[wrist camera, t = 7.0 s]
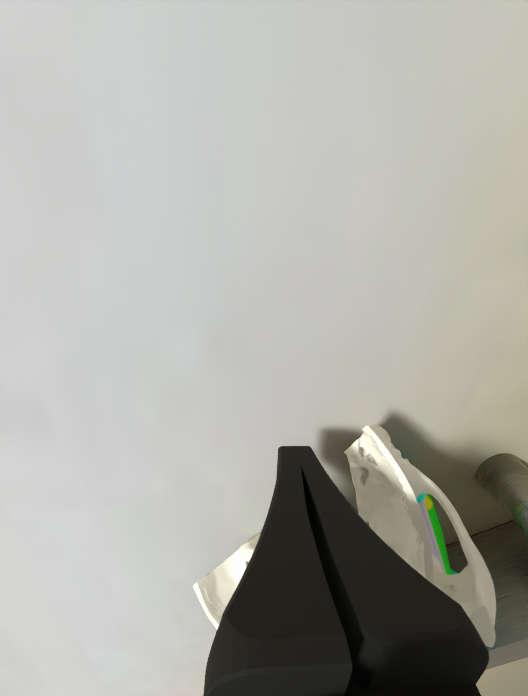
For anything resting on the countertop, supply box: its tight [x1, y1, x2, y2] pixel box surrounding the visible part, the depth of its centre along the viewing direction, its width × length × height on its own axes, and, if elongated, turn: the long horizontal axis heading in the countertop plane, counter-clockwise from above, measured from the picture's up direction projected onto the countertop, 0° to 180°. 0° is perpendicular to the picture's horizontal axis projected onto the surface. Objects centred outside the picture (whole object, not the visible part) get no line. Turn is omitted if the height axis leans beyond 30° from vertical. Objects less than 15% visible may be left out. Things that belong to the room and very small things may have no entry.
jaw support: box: [193, 424, 496, 647], centre depth 15 cm, size 12×9×10 cm
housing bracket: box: [446, 454, 528, 670], centre depth 17 cm, size 22×8×5 cm, turn 120°
